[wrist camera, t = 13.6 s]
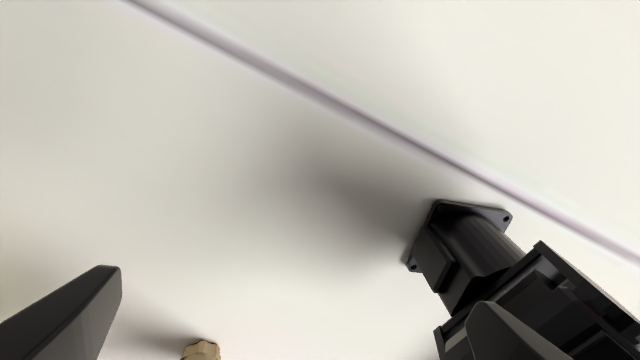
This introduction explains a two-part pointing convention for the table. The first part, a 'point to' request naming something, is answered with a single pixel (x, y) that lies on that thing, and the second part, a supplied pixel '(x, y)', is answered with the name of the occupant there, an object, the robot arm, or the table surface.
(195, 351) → the handle
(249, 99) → the table surface
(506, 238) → the robot arm
